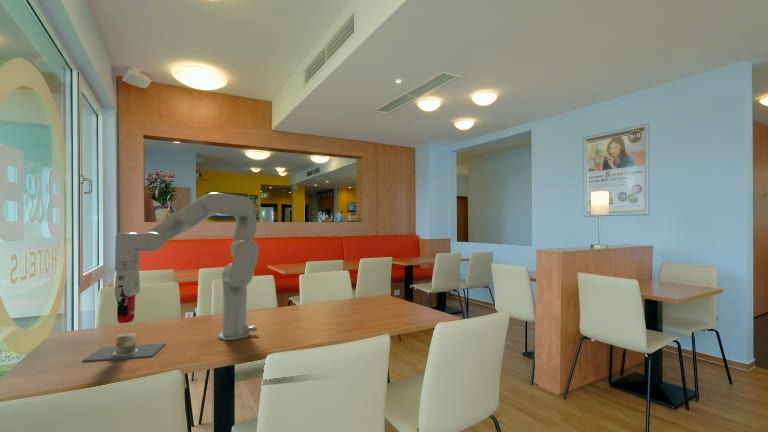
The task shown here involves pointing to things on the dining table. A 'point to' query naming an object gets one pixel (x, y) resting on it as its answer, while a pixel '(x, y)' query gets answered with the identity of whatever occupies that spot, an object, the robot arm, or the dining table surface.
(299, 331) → the dining table surface
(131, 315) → the beverage can
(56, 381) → the dining table surface
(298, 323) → the dining table surface
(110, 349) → the mat
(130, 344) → the birch drum
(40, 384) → the dining table surface
